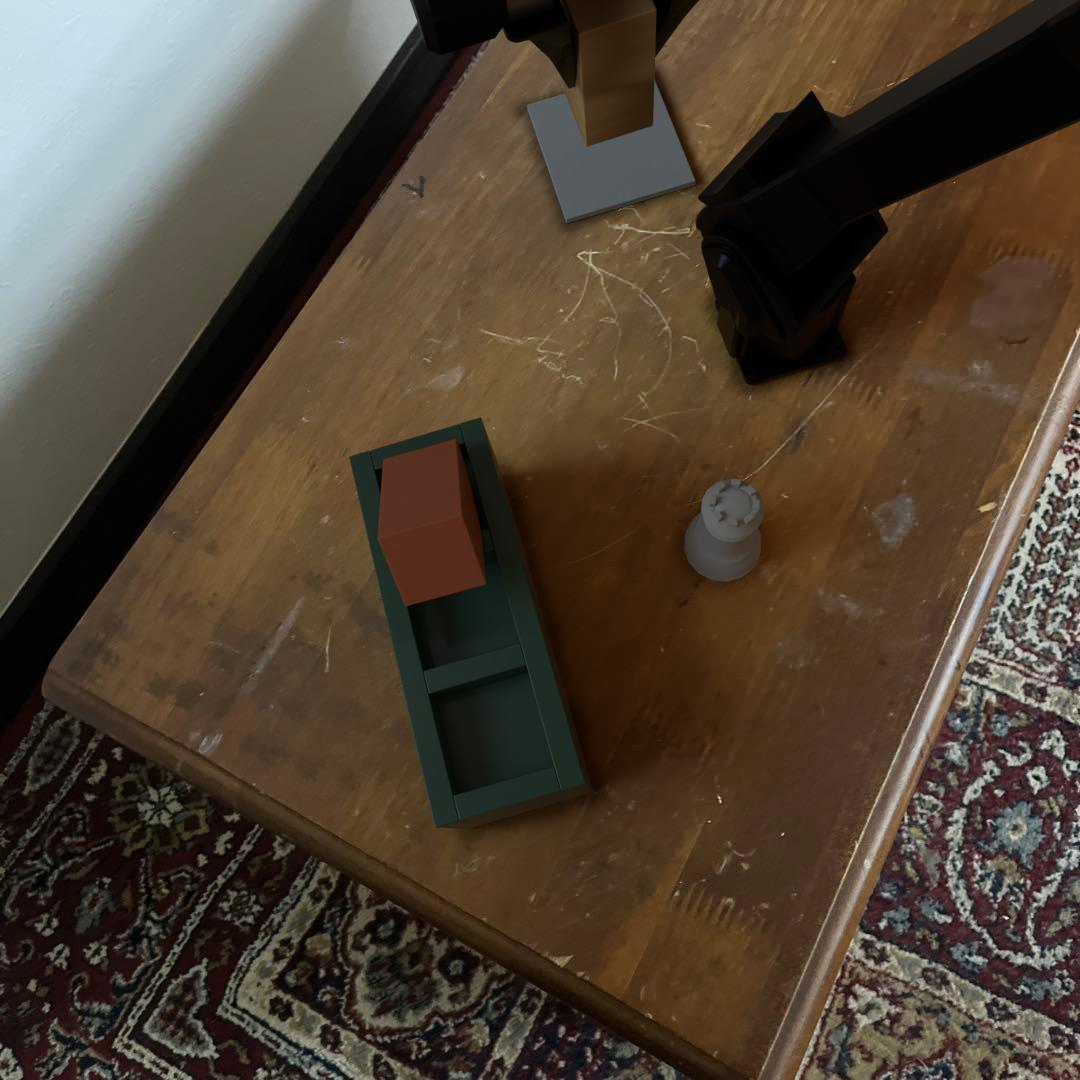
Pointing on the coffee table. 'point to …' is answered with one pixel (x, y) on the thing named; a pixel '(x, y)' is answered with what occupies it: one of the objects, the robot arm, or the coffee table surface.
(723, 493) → the rook chess piece
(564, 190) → the mat
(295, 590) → the coffee table surface
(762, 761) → the coffee table surface
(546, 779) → the rack
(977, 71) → the robot arm
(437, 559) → the terracotta peg
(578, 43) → the maple peg
